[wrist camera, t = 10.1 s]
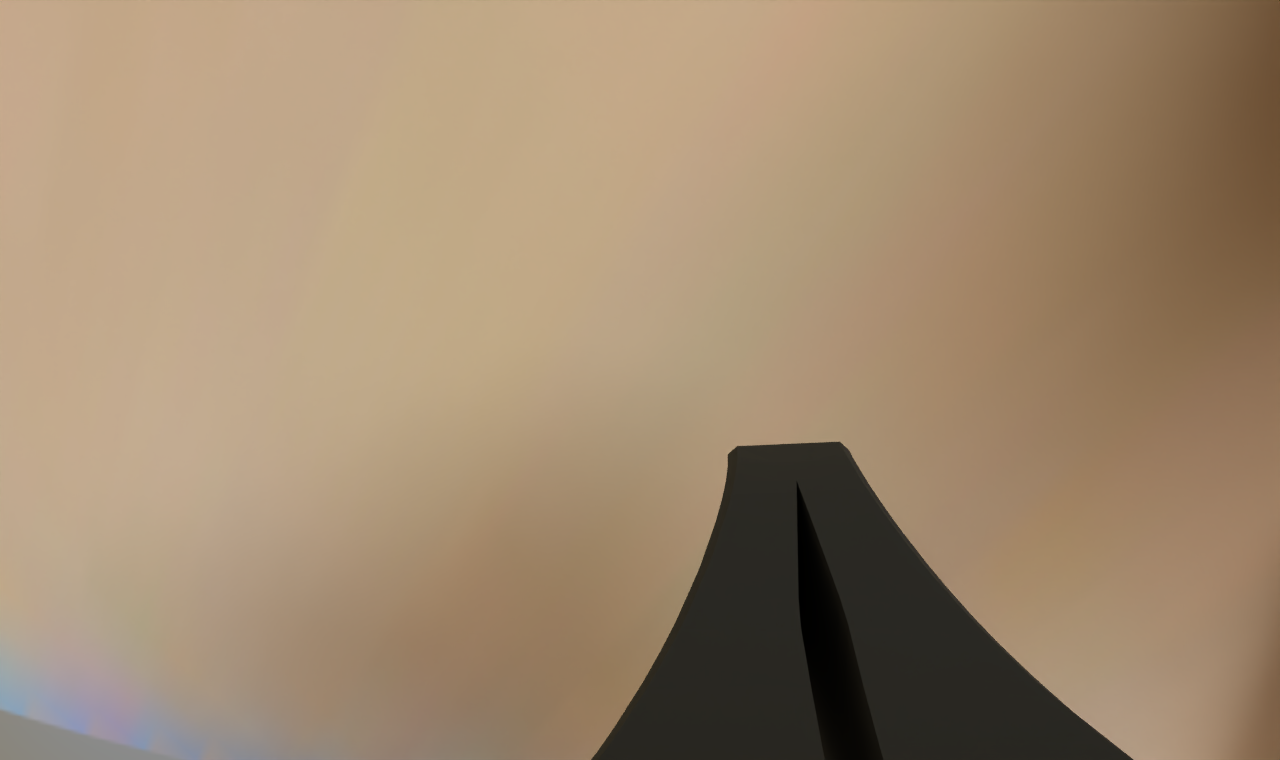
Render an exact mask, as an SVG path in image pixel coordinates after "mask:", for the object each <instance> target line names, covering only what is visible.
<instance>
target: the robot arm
mask: <svg viewBox="0 0 1280 760" xmlns="http://www.w3.org/2000/svg"><path fill="white" fill-rule="evenodd" d="M591 760H1133V759H1132V758H1131V757H1129V756H1128V755H1127V754H1126V753H1124V752H1123V751H1122V750H1120V749H1119V748H1118V747H1117V746H1115V745H1114V744H1113V743H1112V742H1110V741H1109V740H1108V739H1107V738H1105V737H1104V736H1103V735H1102V734H1100V733H1099V732H1098V731H1096V730H1095V729H1094V728H1093V727H1091V726H1090V725H1089V724H1088V723H1086V722H1085V721H1084V720H1083V719H1081V718H1080V717H1079V716H1078V715H1076V714H1075V713H1074V712H1073V711H1071V710H1070V709H1069V708H1068V707H1067V706H1066V705H1064V704H1063V703H1062V702H1061V701H1060V700H1059V699H1058V698H1057V697H1055V696H1054V695H1053V694H1052V693H1051V692H1050V691H1049V690H1048V689H1046V688H1045V687H1044V686H1043V685H1042V684H1041V683H1040V682H1039V681H1037V680H1036V679H1035V678H1034V677H1033V676H1032V675H1031V674H1030V673H1029V672H1028V671H1027V670H1026V669H1025V668H1023V667H1022V666H1021V665H1020V664H1019V663H1018V662H1017V661H1016V660H1015V659H1014V658H1013V657H1012V656H1011V655H1010V654H1009V653H1008V652H1007V651H1006V650H1005V649H1004V648H1003V647H1002V646H1001V645H1000V644H999V643H998V642H997V641H996V640H995V639H994V638H993V637H992V636H991V635H990V634H989V633H988V632H987V631H986V630H985V629H984V628H983V627H982V626H981V625H980V624H979V623H978V622H977V620H976V619H975V618H974V617H973V616H972V615H971V614H970V613H969V612H968V611H967V610H966V608H965V607H964V606H963V605H962V604H961V603H960V602H959V601H958V599H957V598H956V597H955V596H954V595H953V594H952V593H951V592H950V590H949V589H948V588H947V587H946V586H945V585H944V584H943V582H942V581H941V580H940V579H939V578H938V576H937V575H936V574H935V573H934V572H933V570H932V569H931V568H930V567H929V566H928V564H927V563H926V562H925V561H924V559H923V558H922V557H921V555H920V554H919V553H918V552H917V550H916V549H915V548H914V546H913V545H912V544H911V543H910V541H909V540H908V539H907V537H906V536H905V535H904V534H903V532H902V531H901V530H900V528H899V527H898V526H897V524H896V523H895V521H894V520H893V519H892V517H891V516H890V515H889V513H888V512H887V510H886V509H885V507H884V506H883V504H882V503H881V502H880V500H879V499H878V497H877V496H876V494H875V493H874V491H873V490H872V488H871V487H870V485H869V484H868V482H867V480H866V479H865V477H864V476H863V474H862V472H861V471H860V469H859V467H858V466H857V464H856V462H855V461H854V459H853V457H852V455H851V453H850V451H849V450H848V449H847V448H846V447H845V446H844V445H843V444H842V443H840V442H824V443H801V444H779V445H756V446H737V447H736V448H735V449H734V450H732V451H731V452H730V453H729V454H728V470H727V477H726V484H725V489H724V493H723V498H722V501H721V505H720V509H719V512H718V516H717V520H716V523H715V526H714V529H713V532H712V534H711V537H710V540H709V543H708V546H707V549H706V552H705V555H704V557H703V560H702V563H701V566H700V568H699V571H698V573H697V575H696V578H695V580H694V582H693V584H692V587H691V589H690V591H689V593H688V596H687V598H686V600H685V602H684V605H683V607H682V609H681V612H680V614H679V616H678V618H677V620H676V622H675V624H674V626H673V628H672V630H671V632H670V634H669V636H668V638H667V640H666V642H665V644H664V646H663V648H662V650H661V651H660V653H659V655H658V657H657V659H656V660H655V662H654V664H653V666H652V668H651V669H650V671H649V673H648V675H647V676H646V678H645V680H644V681H643V683H642V685H641V686H640V688H639V690H638V691H637V693H636V694H635V696H634V697H633V699H632V701H631V702H630V704H629V705H628V707H627V709H626V710H625V712H624V713H623V715H622V716H621V718H620V720H619V721H618V723H617V724H616V726H615V727H614V729H613V730H612V732H611V733H610V735H609V736H608V737H607V739H606V740H605V742H604V743H603V745H602V746H601V747H600V749H599V750H598V752H597V753H596V754H595V756H594V757H593V758H592V759H591Z"/></svg>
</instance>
